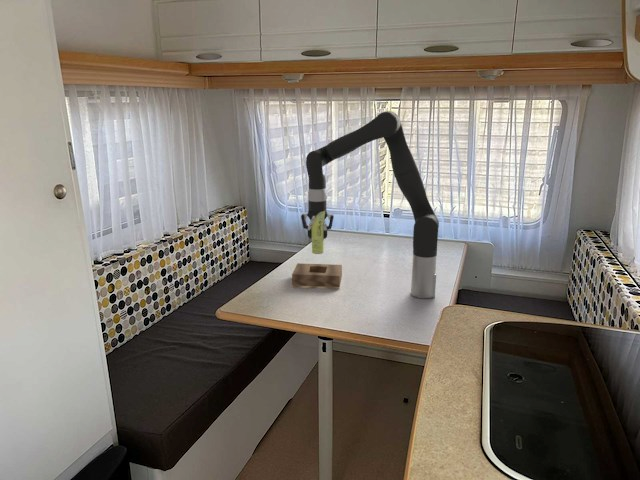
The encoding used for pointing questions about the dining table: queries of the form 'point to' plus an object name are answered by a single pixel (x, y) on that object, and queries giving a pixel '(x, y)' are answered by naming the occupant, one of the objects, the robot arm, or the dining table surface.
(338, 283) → the slotted block
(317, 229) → the tube
